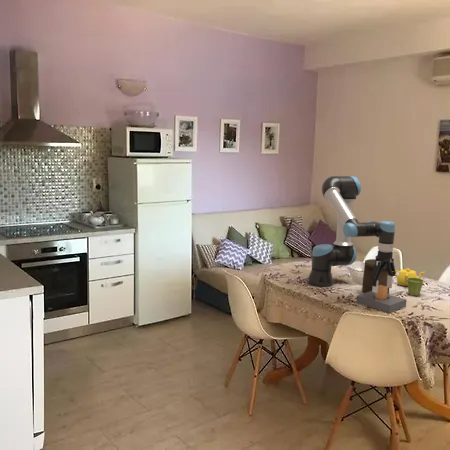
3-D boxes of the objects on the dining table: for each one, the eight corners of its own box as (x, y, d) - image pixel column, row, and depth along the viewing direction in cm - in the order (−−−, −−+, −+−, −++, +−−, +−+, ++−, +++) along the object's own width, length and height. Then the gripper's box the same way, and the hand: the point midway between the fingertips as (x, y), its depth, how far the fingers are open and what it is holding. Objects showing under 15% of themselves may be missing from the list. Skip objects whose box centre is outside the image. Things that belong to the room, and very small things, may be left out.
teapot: (410, 281, 322) (411, 265, 320) (423, 287, 310) (425, 270, 308) (391, 282, 318) (392, 266, 316) (404, 288, 306) (405, 272, 304)
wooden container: (391, 292, 299) (395, 255, 295) (384, 298, 286) (387, 260, 283) (366, 287, 307) (369, 251, 303) (358, 293, 294) (361, 256, 290)
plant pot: (424, 293, 297) (425, 279, 296) (421, 298, 289) (422, 283, 288) (407, 290, 302) (408, 276, 300) (403, 295, 294) (405, 280, 292)
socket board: (356, 302, 278) (356, 295, 277) (373, 297, 288) (373, 290, 288) (389, 312, 263) (389, 305, 262) (405, 306, 273) (406, 299, 273)
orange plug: (374, 302, 276) (375, 286, 274) (379, 301, 279) (380, 284, 277) (382, 304, 272) (383, 288, 271) (386, 303, 275) (388, 286, 274)
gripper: (378, 255, 260) (374, 295, 264) (404, 249, 276) (401, 287, 280) (365, 252, 265) (362, 292, 269) (392, 246, 281) (388, 284, 285)
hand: (382, 289), depth 274 cm, fingers open, 13 cm apart
